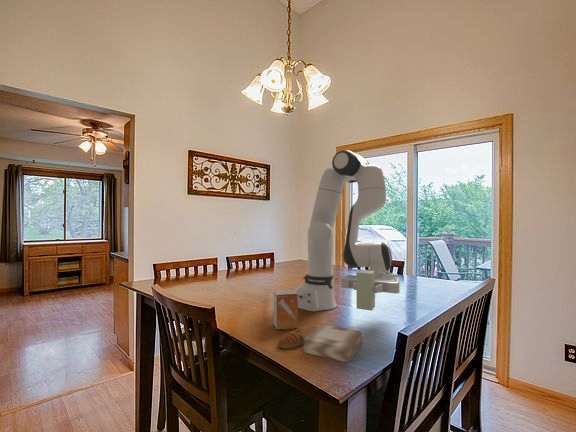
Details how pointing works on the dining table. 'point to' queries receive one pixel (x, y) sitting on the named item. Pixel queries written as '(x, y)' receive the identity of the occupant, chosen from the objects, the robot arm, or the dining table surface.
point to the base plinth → (333, 342)
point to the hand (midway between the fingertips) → (365, 288)
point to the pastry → (292, 339)
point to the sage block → (365, 289)
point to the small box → (286, 309)
